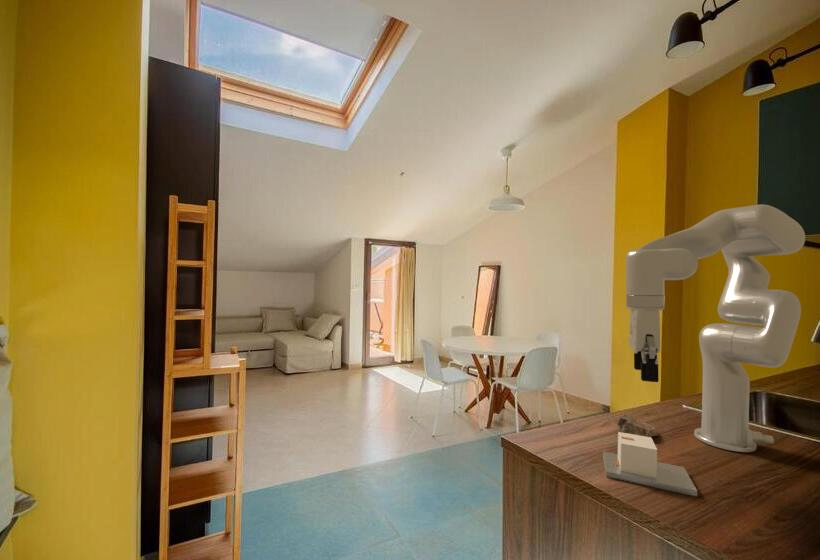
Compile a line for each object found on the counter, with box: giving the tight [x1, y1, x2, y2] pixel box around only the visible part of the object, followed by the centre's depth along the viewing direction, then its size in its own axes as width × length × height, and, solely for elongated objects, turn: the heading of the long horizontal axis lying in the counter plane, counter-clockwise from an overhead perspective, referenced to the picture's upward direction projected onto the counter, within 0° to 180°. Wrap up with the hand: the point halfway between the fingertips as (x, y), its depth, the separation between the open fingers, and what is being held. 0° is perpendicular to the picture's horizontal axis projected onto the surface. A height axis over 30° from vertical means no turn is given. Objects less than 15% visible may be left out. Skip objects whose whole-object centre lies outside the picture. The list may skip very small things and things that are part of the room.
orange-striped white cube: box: [617, 431, 658, 478], centre depth 81 cm, size 7×7×6 cm
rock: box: [617, 413, 659, 438], centre depth 102 cm, size 9×6×10 cm
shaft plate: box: [602, 451, 698, 497], centre depth 80 cm, size 16×10×4 cm, turn 65°
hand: (645, 375), depth 85 cm, fingers open, 9 cm apart
